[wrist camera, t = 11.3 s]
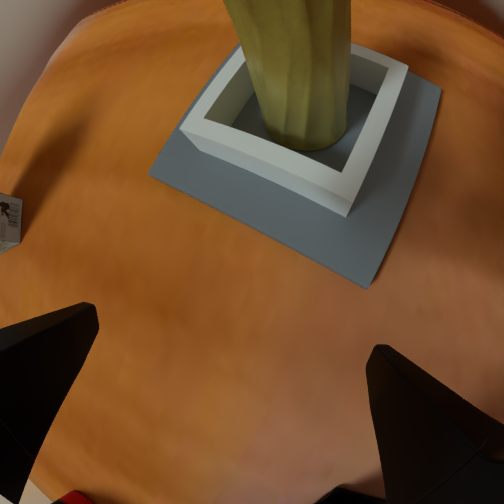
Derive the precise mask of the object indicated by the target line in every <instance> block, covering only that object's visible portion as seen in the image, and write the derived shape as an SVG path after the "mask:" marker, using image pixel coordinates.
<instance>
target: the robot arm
mask: <svg viewBox="0 0 504 504" xmlns="http://www.w3.org/2000/svg"><path fill="white" fill-rule="evenodd" d="M98 331H99V322H98V317H97V311H96V307H95V305H93V304H91V303H87V302H82V303H78V304H75V305H72V306H69V307H66V308H63V309H60V310H57V311H54V312H51V313H47V314H44V315H41V316H38V317H35V318H32V319H29V320H26V321H23V322H20V323H17V324H14V325H10V326H7V327H4V328H1V329H0V494H1V495H2V496H3V497H5V498H6V499H7V500H9V501H10V502H12V503H13V504H19V501H20V499H21V496H22V493H23V490H24V487H25V485H26V482H27V480H28V477H29V474H30V472H31V469H32V467H33V465H34V462H35V459H36V457H37V455H38V453H39V450H40V448H41V446H42V444H43V441H44V439H45V437H46V435H47V433H48V431H49V429H50V427H51V425H52V422H53V420H54V418H55V416H56V414H57V412H58V411H59V409H60V407H61V405H62V403H63V401H64V399H65V397H66V395H67V393H68V392H69V390H70V388H71V386H72V384H73V382H74V381H75V379H76V377H77V375H78V374H79V372H80V370H81V368H82V366H83V364H84V362H85V360H86V358H87V355H88V353H89V351H90V349H91V346H92V344H93V342H94V340H95V338H96V336H97V334H98ZM366 377H367V385H368V393H369V403H370V410H371V415H372V420H373V425H374V429H375V434H376V439H377V444H378V450H379V455H380V461H381V467H382V473H383V479H384V486H385V493H386V500H383V499H379V498H375V497H371V496H367V495H363V494H359V493H356V492H352V491H349V490H346V489H343V488H335V489H333V490H332V491H331V492H330V493H328V494H327V495H326V496H325V497H324V498H323V499H321V500H320V501H319V502H316V503H315V504H504V424H502V423H500V422H498V421H497V420H495V419H493V418H492V417H490V416H489V415H487V414H485V413H484V412H482V411H481V410H479V409H478V408H476V407H475V406H473V405H472V404H470V403H469V402H468V401H466V400H465V399H463V398H462V397H461V396H459V395H458V394H456V393H455V392H454V391H452V390H451V389H449V388H448V387H447V386H445V385H444V384H442V383H441V382H440V381H438V380H437V379H435V378H434V377H433V376H431V375H430V374H428V373H427V372H426V371H424V370H423V369H421V368H420V367H419V366H417V365H416V364H414V363H413V362H412V361H410V360H409V359H407V358H406V357H404V356H403V355H402V354H400V353H399V352H397V351H396V350H395V349H393V348H392V347H390V346H389V345H386V344H377V345H376V346H375V347H374V348H373V351H372V353H371V355H370V357H369V360H368V362H367V364H366ZM337 492H339V493H337Z"/></svg>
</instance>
